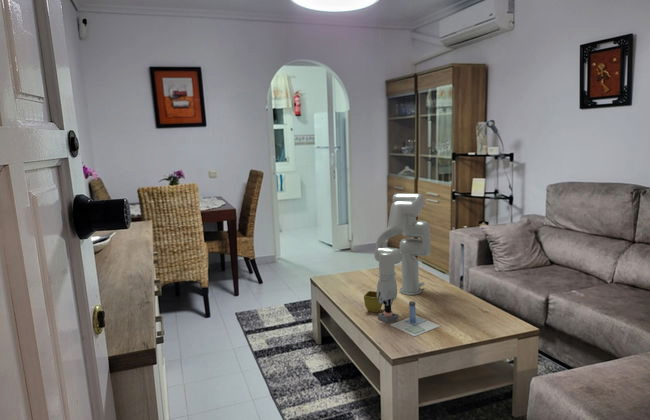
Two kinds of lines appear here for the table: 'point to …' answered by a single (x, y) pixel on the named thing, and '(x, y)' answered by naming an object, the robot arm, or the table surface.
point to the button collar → (388, 318)
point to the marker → (412, 312)
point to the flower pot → (372, 301)
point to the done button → (388, 314)
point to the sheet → (415, 326)
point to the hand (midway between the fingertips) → (387, 312)
